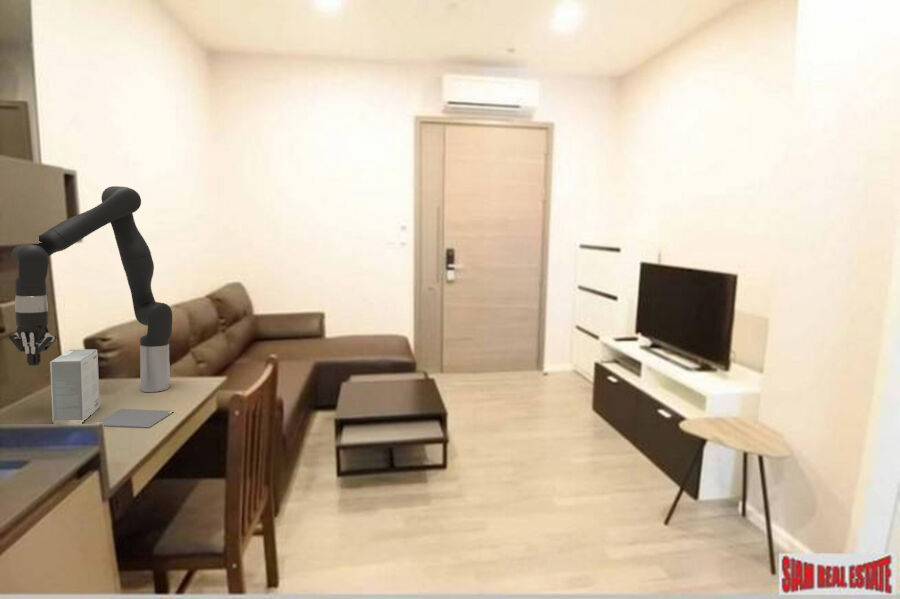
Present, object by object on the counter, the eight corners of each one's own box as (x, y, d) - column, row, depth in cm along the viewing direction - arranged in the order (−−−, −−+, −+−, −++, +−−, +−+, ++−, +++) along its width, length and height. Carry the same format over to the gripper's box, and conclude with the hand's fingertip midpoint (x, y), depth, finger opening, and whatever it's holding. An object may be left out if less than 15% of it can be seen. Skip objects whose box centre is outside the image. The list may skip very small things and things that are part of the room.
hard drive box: (72, 408, 153) (70, 349, 151) (100, 407, 156) (99, 348, 154) (51, 426, 139) (49, 360, 137) (82, 424, 141) (81, 360, 139)
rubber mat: (121, 409, 155) (121, 408, 155) (174, 412, 156) (174, 410, 156) (91, 425, 141) (91, 424, 141) (149, 428, 142) (149, 426, 142)
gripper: (63, 309, 147) (65, 363, 149) (20, 307, 147) (22, 361, 148) (44, 312, 140) (46, 369, 142) (-2, 310, 139) (0, 367, 141)
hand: (33, 365), depth 145 cm, fingers closed
